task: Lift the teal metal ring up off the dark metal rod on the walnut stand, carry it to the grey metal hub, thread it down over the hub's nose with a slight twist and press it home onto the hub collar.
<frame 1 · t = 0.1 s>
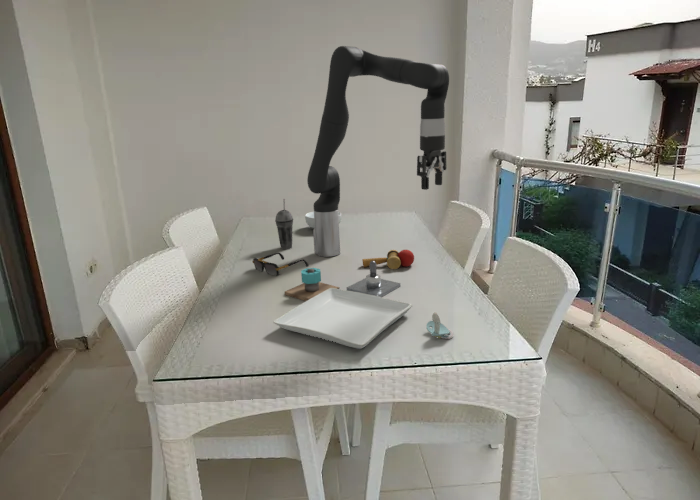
hand: (431, 187, 153), 29 cm above the table, tool pointing down, fingers open, 8 cm apart
sunglasses: (280, 269, 175), on the table
square plate: (345, 324, 130), on the table
kendama: (388, 267, 172), on the table
rod stand: (312, 292, 151), on the table
hub: (373, 288, 152), on the table
beverage cup: (286, 248, 198), on the table
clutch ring: (311, 280, 150), point 4 cm above the table, touching rod stand
cereal bowl: (324, 229, 226), on the table
pacifier: (440, 335, 121), on the table
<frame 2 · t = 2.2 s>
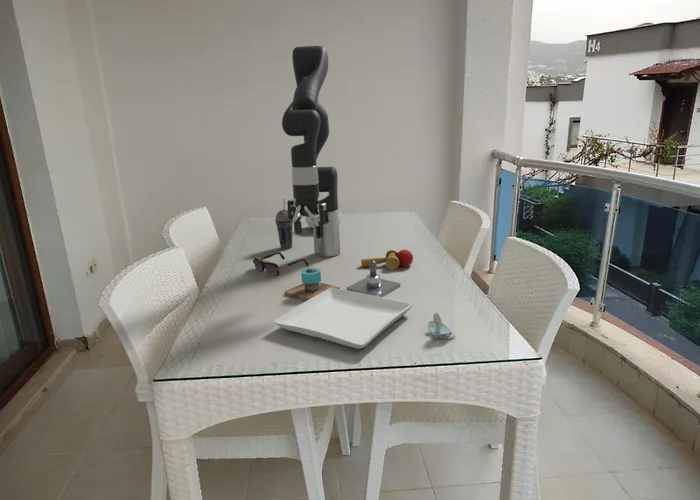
hand: (309, 235, 145), 18 cm above the table, tool pointing down, fingers open, 8 cm apart
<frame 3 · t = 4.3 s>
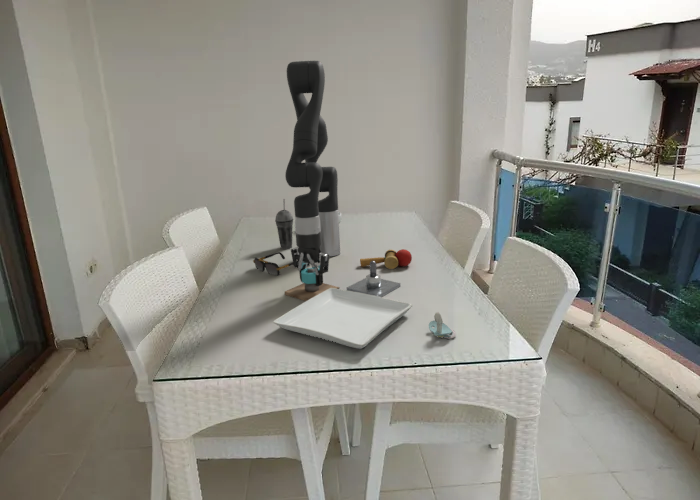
hand: (311, 283, 150), 3 cm above the table, tool pointing down, fingers closed on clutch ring, 5 cm apart
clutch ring: (311, 280, 150), point 4 cm above the table, touching gripper, rod stand
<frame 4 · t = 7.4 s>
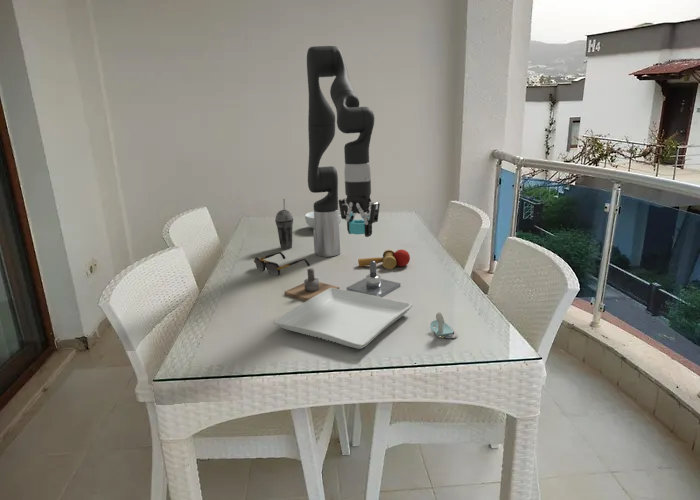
hand: (359, 234, 146), 18 cm above the table, tool pointing down, fingers closed on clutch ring, 5 cm apart
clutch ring: (359, 231, 146), point 19 cm above the table, touching gripper
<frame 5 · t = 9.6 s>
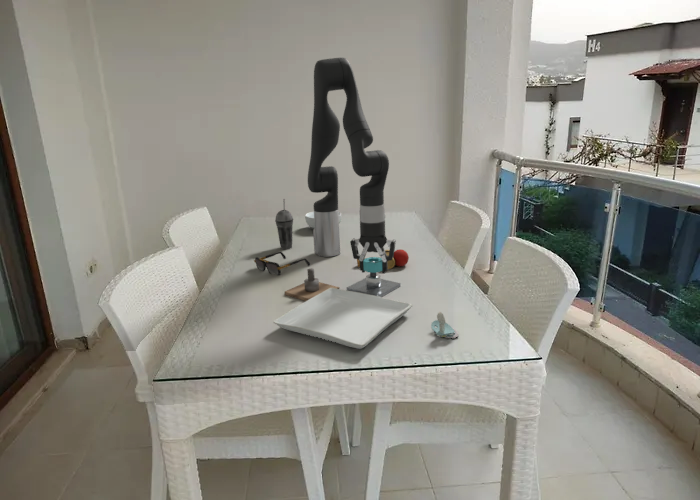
hand: (373, 272, 150), 5 cm above the table, tool pointing down, fingers closed on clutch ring, 5 cm apart
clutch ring: (373, 269, 150), point 6 cm above the table, touching gripper
when the fingers open (3 cm above the table, at t = 10.9 s): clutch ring stays where it is, resting on hub.
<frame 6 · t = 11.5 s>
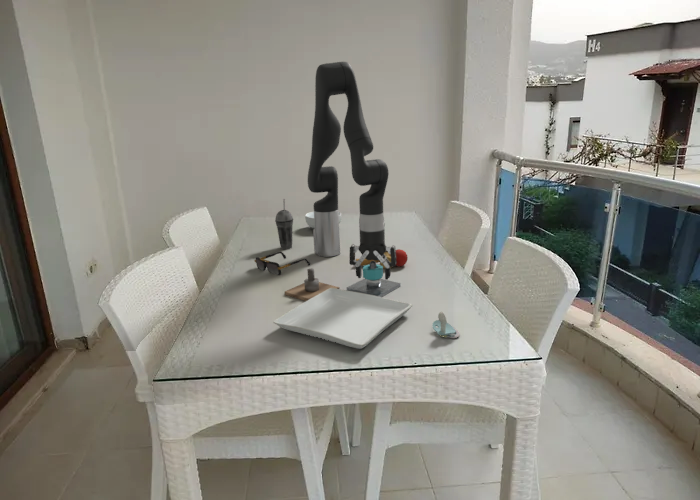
hand: (373, 278, 151), 3 cm above the table, tool pointing down, fingers open, 8 cm apart
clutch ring: (373, 276, 151), point 4 cm above the table, touching hub
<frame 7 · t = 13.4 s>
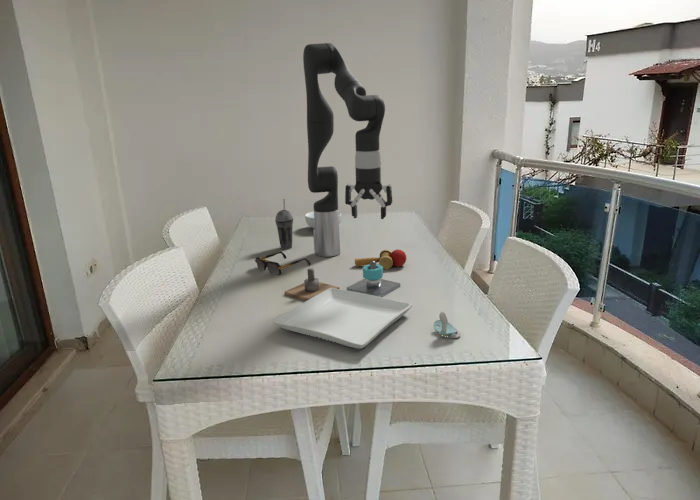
hand: (369, 218, 151), 21 cm above the table, tool pointing down, fingers open, 8 cm apart
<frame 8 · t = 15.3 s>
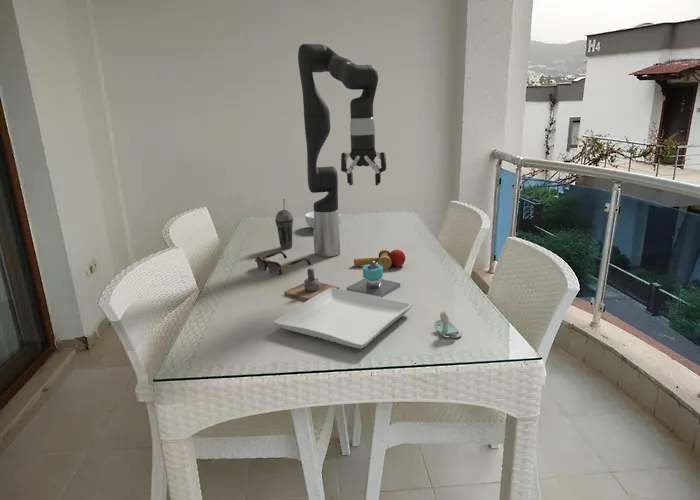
hand: (364, 185, 157), 30 cm above the table, tool pointing down, fingers open, 8 cm apart
at the end: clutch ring 0.1 cm off-centre on the hub, point 4.0 cm above the hub's base; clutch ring tilted 0°; the gripper is holding nothing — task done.
